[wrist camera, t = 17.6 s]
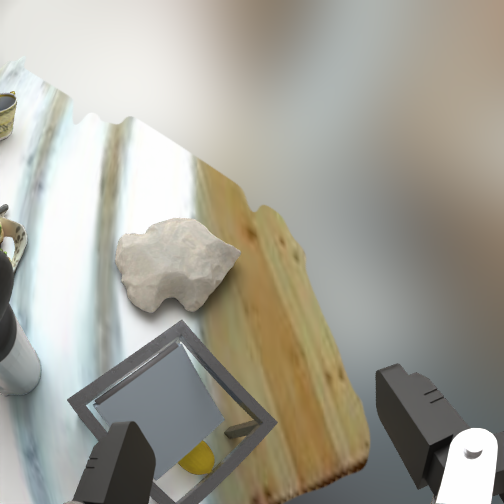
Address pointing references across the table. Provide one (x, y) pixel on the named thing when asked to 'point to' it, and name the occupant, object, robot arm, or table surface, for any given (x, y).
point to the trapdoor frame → (183, 334)
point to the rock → (173, 264)
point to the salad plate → (13, 236)
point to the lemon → (198, 460)
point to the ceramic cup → (7, 113)
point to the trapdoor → (164, 406)
